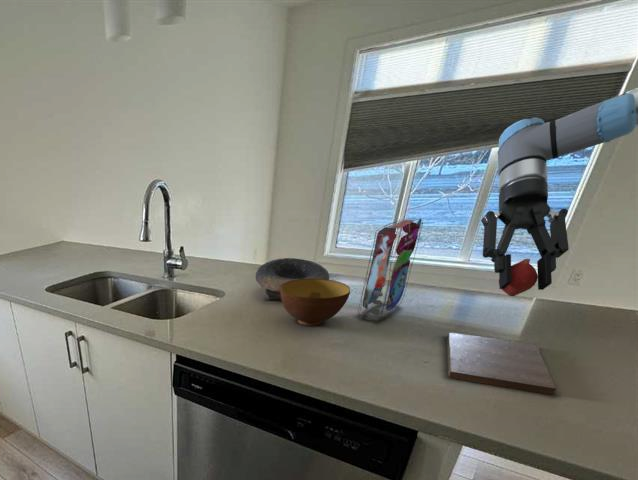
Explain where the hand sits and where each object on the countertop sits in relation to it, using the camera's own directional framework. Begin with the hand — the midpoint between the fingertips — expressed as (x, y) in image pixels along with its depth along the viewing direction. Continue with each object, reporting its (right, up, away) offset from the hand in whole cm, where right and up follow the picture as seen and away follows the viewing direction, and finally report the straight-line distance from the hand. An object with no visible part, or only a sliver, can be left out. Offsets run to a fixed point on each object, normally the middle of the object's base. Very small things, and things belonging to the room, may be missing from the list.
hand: (524, 286), depth 82 cm
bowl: (-29, -2, +34) cm, 44 cm away
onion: (+2, -1, +5) cm, 5 cm away
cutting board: (-1, -15, +6) cm, 17 cm away
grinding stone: (-25, +11, +55) cm, 62 cm away
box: (-4, +2, +38) cm, 38 cm away
